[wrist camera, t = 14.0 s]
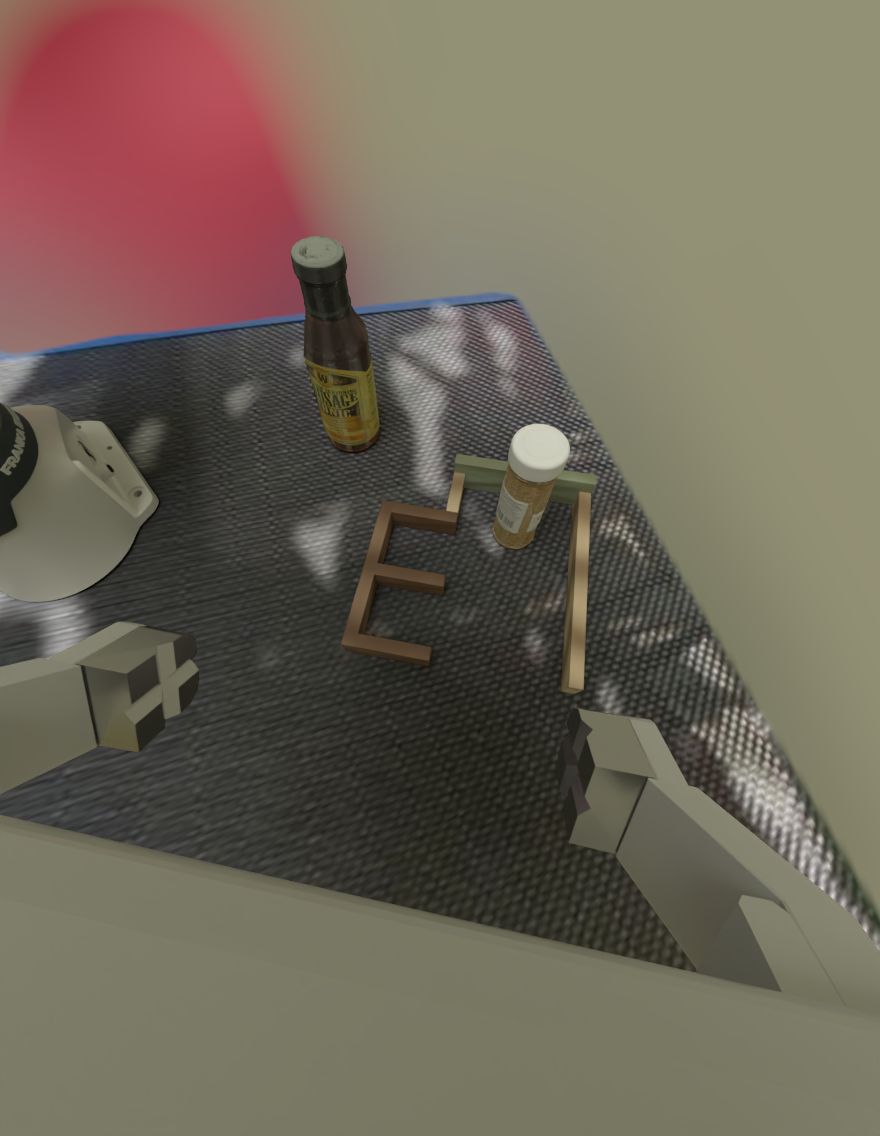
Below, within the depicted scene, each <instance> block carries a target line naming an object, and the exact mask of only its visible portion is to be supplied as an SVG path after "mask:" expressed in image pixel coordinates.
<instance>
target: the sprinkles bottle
mask: <svg viewBox="0 0 880 1136" xmlns="http://www.w3.org/2000/svg"><path fill="white" fill-rule="evenodd" d="M569 453H570V446H569V442H568V440H567V438H566V437H565V436H564V435H563V433H561V432H560V431H559V430H557V429H556V428H554V427H552V426H549V425H544V424H532V425H528V426H525V427H523V428H521V429H520V430H519V431H517V433H516V434H515V435H514V437H513V439H512V442H511V446H510V450H509V454H508V467H507V471H506V475H505V477H504V481H503V485H502V489H501V493H500V497H499V502H498V506H497V512H496V518H495V521H494V522H493V526H492V533H493V535H494V538H495V539H496V541H497V542H498V543H499V544H501V545H502V546H504V547H506V548H510V549H520V548H523V547H525V546H527V545H528V544H530V542H531V541H532V540H533V538H534V535H535V530H536V527H537V525H538V524H539V522H540V520H541V517H542V515H543V512H544V510H545V507H546V505H547V502H548V500H549V497H550V494H551V491H552V489H553V486H554V484H555V482H556V479H557V477H558V476H559V475H560V474H561V473H562V471H563V469H564V467H565V465H566V462H567V459H568V457H569Z"/></svg>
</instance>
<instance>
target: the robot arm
mask: <svg viewBox="0 0 880 1136" xmlns="http://www.w3.org/2000/svg"><path fill="white" fill-rule="evenodd" d="M140 495H141V496H140ZM158 504H159V500H158V498H157V496H156V495H155V493H154V492H153V491H152V489H151V488H150V486H149V485H148V483H147V482H146V480H145V479H144V477H143V476H142V474H141V473H140V472H139V470H138V469H137V467H136V466H135V464H134V463H133V461H132V460H131V458H130V457H129V456H128V454H127V453H126V451H125V450H124V448H123V447H122V445H121V444H120V442H119V441H118V439H117V438H116V437H115V435H114V434H113V432H112V431H111V429H110V428H109V427H108V426H106V425H105V424H104V423H103V422H101V421H78V422H72V421H71V420H69V419H68V418H67V417H66V416H65V415H64V414H62V413H61V412H60V411H59V410H57V409H55V408H53V407H49V406H45V405H26V406H18V407H9V406H7V405H5V404H3V403H0V591H1V592H3V593H5V594H6V595H8V596H10V597H12V598H15V599H18V600H22V601H29V602H44V601H51V600H56V599H61V598H64V597H67V596H70V595H73V594H75V593H78V592H80V591H82V590H84V589H86V588H88V587H90V586H91V585H93V584H94V583H96V582H98V581H99V580H100V579H102V578H103V577H104V576H106V575H107V574H108V573H109V572H110V571H111V570H112V569H114V568H115V567H116V565H117V564H118V563H119V562H120V561H121V560H122V559H123V557H124V556H125V555H126V553H127V552H128V550H129V548H130V547H131V545H132V543H133V541H134V539H135V536H136V534H137V532H138V530H139V528H140V526H141V525H142V524H143V523H144V522H145V521H146V520H147V519H148V518H149V517H150V515H151V514H152V513H153V512H154V511H155V510H156V508H157V506H158ZM196 654H197V647H196V639H195V638H193V637H192V636H191V635H190V634H185V633H181V632H176V631H171V630H167V629H162V628H157V627H152V626H146V625H142V624H137V623H132V622H117V623H115V624H113V625H111V626H109V627H107V628H105V629H103V630H102V631H100V632H98V633H96V634H94V635H92V636H90V637H88V638H87V639H85V640H83V641H81V642H79V643H77V644H75V645H74V646H72V647H70V648H68V649H66V650H64V651H62V652H60V653H59V654H57V655H55V656H53V657H51V658H49V659H44V658H38V659H33V660H29V661H25V662H20V663H16V664H12V665H7V666H3V667H0V794H2V793H4V792H6V791H8V790H10V789H12V788H14V787H16V786H18V785H20V784H22V783H24V782H26V781H28V780H30V779H32V778H34V777H36V776H38V775H41V774H43V773H45V772H47V771H49V770H51V769H53V768H55V767H57V766H59V765H61V764H63V763H65V762H67V761H69V760H71V759H73V758H75V757H77V756H80V755H82V754H84V753H86V752H88V751H90V750H92V749H94V748H96V747H97V745H102V746H107V747H113V748H118V749H124V750H130V751H135V752H140V751H141V750H142V749H143V748H144V747H145V746H146V745H147V744H148V743H149V742H151V741H152V740H153V739H154V738H155V737H156V736H157V735H158V734H159V733H160V732H161V731H162V730H163V729H164V728H165V722H166V719H167V718H170V717H172V716H175V715H177V714H180V713H181V712H182V711H183V710H184V709H185V708H186V707H187V706H188V705H189V704H190V703H191V701H192V700H193V698H194V696H195V694H196V692H197V690H198V685H199V670H198V668H197V667H196V666H195V664H194V663H193V661H192V658H193V657H194V656H195V655H196ZM567 725H568V729H569V734H570V735H569V736H568V737H566V738H565V739H563V740H562V742H561V746H560V749H559V753H558V762H557V779H558V786H559V790H560V791H561V792H562V794H563V795H564V796H565V797H566V801H565V804H564V807H563V814H564V820H565V825H566V831H567V836H568V841H569V843H572V844H576V845H581V846H585V847H589V848H593V849H597V850H601V851H606V852H610V853H614V854H616V857H617V859H618V860H619V862H620V863H621V864H622V866H623V867H624V869H625V870H626V871H627V873H628V874H629V876H630V877H631V878H632V880H633V881H634V883H635V884H636V885H637V887H638V888H639V890H640V891H641V892H642V894H643V895H644V897H645V898H646V899H647V901H648V902H649V904H650V905H651V906H652V908H653V909H654V911H655V912H656V913H657V915H658V916H659V918H660V919H661V920H662V922H663V923H664V925H665V926H666V927H667V929H668V930H669V932H670V933H671V934H672V936H673V937H674V939H675V940H676V941H677V943H678V944H679V945H680V947H681V948H682V950H683V951H684V952H685V954H686V955H687V957H688V958H689V959H690V961H691V962H692V964H693V965H694V966H695V968H696V969H697V971H696V972H695V973H694V972H690V971H686V970H681V969H677V968H672V967H668V966H664V965H659V964H655V963H650V962H646V961H642V960H637V959H633V958H628V957H624V956H620V955H615V954H611V953H606V952H602V951H598V950H593V949H589V948H584V947H580V946H576V945H571V944H567V943H562V942H558V941H554V940H549V939H545V938H540V937H536V936H532V935H527V934H523V933H518V932H514V931H510V930H505V929H501V928H496V927H492V926H487V925H483V924H479V923H474V922H470V921H465V920H461V919H456V918H452V917H448V916H443V915H439V914H434V913H430V912H425V911H421V910H417V909H412V908H408V907H403V906H399V905H394V904H390V903H386V902H381V901H377V900H372V899H368V898H363V897H359V896H355V895H350V894H346V893H341V892H337V891H332V890H328V889H324V888H319V887H315V886H310V885H306V884H302V883H297V882H293V881H288V880H284V879H280V878H275V877H271V876H266V875H262V874H258V873H253V872H249V871H244V870H240V869H236V868H231V867H227V866H223V865H218V864H214V863H209V862H205V861H201V860H196V859H192V858H187V857H183V856H179V855H174V854H170V853H165V852H161V851H157V850H152V849H148V848H143V847H139V846H135V845H130V844H126V843H121V842H117V841H113V840H108V839H104V838H99V837H95V836H90V835H86V834H82V833H77V832H73V831H68V830H64V829H60V828H55V827H51V826H46V825H42V824H38V823H33V822H29V821H24V820H20V819H16V818H11V817H7V816H2V815H0V1136H880V952H879V950H878V949H877V947H876V946H875V945H874V943H873V942H872V940H871V939H870V938H869V936H868V935H867V934H866V932H865V931H864V929H863V928H862V927H861V925H860V924H859V922H858V921H857V920H856V918H855V917H854V916H853V915H852V914H851V913H849V912H848V911H847V910H846V909H844V908H843V907H842V906H841V905H840V904H838V903H837V902H836V901H835V900H833V899H832V898H831V897H830V896H829V895H827V894H826V893H825V892H824V891H823V890H821V889H820V888H819V887H818V886H816V885H815V884H814V883H813V882H812V881H810V880H809V879H808V878H807V877H805V876H804V875H803V874H802V873H801V872H799V871H798V870H797V869H796V868H794V867H793V866H792V865H791V864H790V863H788V862H787V861H786V860H785V859H783V858H782V857H781V856H780V855H779V854H777V853H776V852H775V851H774V850H773V849H771V848H770V847H769V846H768V845H766V844H765V843H764V842H763V841H762V840H760V839H759V838H758V837H757V836H755V835H754V834H753V833H752V832H751V831H749V830H748V829H747V828H746V827H744V826H743V825H742V824H741V823H740V822H738V821H737V820H736V819H735V818H733V817H732V816H731V815H730V814H729V813H727V812H726V811H725V810H724V809H723V808H721V807H720V806H719V805H718V804H716V803H715V802H714V801H713V800H712V799H710V798H709V797H708V796H707V795H705V794H704V793H703V792H702V791H701V790H699V789H698V788H697V787H692V786H688V784H687V782H686V780H685V779H684V777H683V775H682V773H681V771H680V769H679V767H678V766H677V764H676V762H675V760H674V758H673V756H672V754H671V753H670V751H669V749H668V747H667V745H666V743H665V741H664V740H663V738H662V736H661V734H660V732H659V730H658V728H657V727H656V725H655V723H653V722H652V721H651V720H648V719H642V718H636V717H629V716H619V715H613V714H608V713H602V712H597V711H591V710H585V709H580V708H573V710H572V711H571V713H570V716H569V719H568V722H567Z"/></svg>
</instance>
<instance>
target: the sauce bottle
mask: <svg viewBox="0 0 880 1136" xmlns="http://www.w3.org/2000/svg"><path fill="white" fill-rule="evenodd" d="M291 259H292V263H293V269H294V272H295V274H296V276H297V278H298V279H299V281H300V285H301V289H302V293H303V297H304V305H305V308H306V317H305V323H304V358H305V361H306V365H307V369H308V371H309V375H310V379H311V383H312V386H313V389H314V393H315V397H316V400H317V403H318V407H319V410H320V414H321V417H322V420H323V424H324V428H325V431H326V432H327V434H328V437H329V439H330V441H331V442H332V443H333V444H334V445H335V446H336V447H337V448H338V449H341V450H342V451H348V452H355V451H358V452H359V451H363V450H366V449H367V448H368V447H369V446H371V445H372V444H373V443H374V442H375V441H376V440H377V437H378V433H379V415H378V407H377V398H376V390H375V382H374V374H373V366H372V358H371V354H370V351H369V342H368V334H367V330H366V327H365V324H364V322H363V321H362V320H361V318H360V317H359V316H358V315H357V314H356V312H355V311H354V309H353V308H352V306H351V299H350V296H349V294H348V287H347V281H346V276H345V274H346V270H347V264H346V258H345V253H344V249H343V246H341V244H340V243H338V242H337V241H336V240H334V239H332V238H328V237H324V236H312V237H310V238H304V239H302V240H300V241H298V242H297V243H296V244H295V245H294V246H293V248H292V250H291Z"/></svg>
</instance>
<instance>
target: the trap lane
mask: <svg viewBox="0 0 880 1136" xmlns="http://www.w3.org/2000/svg"><path fill="white" fill-rule="evenodd" d="M507 467H508V462H506V461H500V460H493V459H487V458H480V457H474V456H467V455H461V454H457V455H456V460H455V468H454V476H453V480H452V485H451V490H450V495H449V499H448V504H447V509H446V511H445V510H439V509H432V508H426V507H420V506H414V505H408V504H402V503H395V502H389V501H382V504H381V508H380V511H379V515H378V518H377V522H376V525H375V528H374V532H373V535H372V539H371V542H370V546H369V549H368V553H367V556H366V559H365V563H364V566H363V570H362V573H361V577H360V580H359V584H358V587H357V590H356V594H355V597H354V601H353V604H352V608H351V611H350V615H349V618H348V621H347V625H346V628H345V632H344V635H343V639H342V642H341V645H342V646H343V647H344V649H345V650H346V651H349V652H354V653H360V654H365V655H370V656H376V657H381V658H386V659H392V660H397V661H402V662H407V663H413V664H418V665H423V666H429V665H430V660H431V654H432V651H431V647H428V646H423V645H417V644H412V643H407V642H401V641H396V640H390V639H385V638H380V637H374V636H369V635H364V633H365V629H366V626H367V622H368V618H369V615H370V611H371V607H372V603H373V600H374V596H375V592H376V589H377V585H383V586H388V587H394V588H400V589H405V590H411V591H417V592H422V593H428V594H434V595H439V596H443V593H444V588H445V576H446V575H443V574H438V573H432V572H426V571H420V570H414V569H409V568H403V567H397V566H391V565H386V564H383V563H384V559H385V555H386V551H387V548H388V544H389V540H390V537H391V533H392V529H393V525H398V526H404V527H410V528H416V529H422V530H428V531H434V532H440V533H446V534H452V535H455V531H456V526H457V521H458V516H459V511H460V506H461V501H462V495H463V490H464V488H468V489H474V490H480V491H487V492H493V493H499V494H500V493H501V489H502V485H503V481H504V477H505V475H506V471H507ZM595 486H596V475H592V474H585V473H579V472H572V471H566V470H563V471H562V473H561V474H560V475H559V476H558V477H557V479H556V482H555V484H554V486H553V489H552V491H551V494H550V497H549V500H548V501H550V502H556V503H563V504H569V505H572V517H571V534H570V550H569V566H568V583H567V599H566V616H565V632H564V648H563V665H562V681H561V692H566V693H572V694H576V693H578V692H580V691H582V690H583V687H584V662H585V636H586V610H587V584H588V559H589V533H590V507H591V493H592V491H593V489H594V487H595Z"/></svg>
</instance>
